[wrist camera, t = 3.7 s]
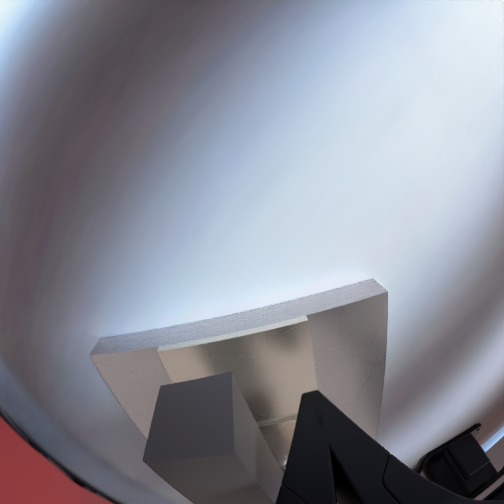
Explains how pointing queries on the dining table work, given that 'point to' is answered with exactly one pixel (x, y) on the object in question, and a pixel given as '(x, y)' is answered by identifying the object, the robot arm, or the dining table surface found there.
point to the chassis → (264, 360)
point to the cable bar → (211, 444)
